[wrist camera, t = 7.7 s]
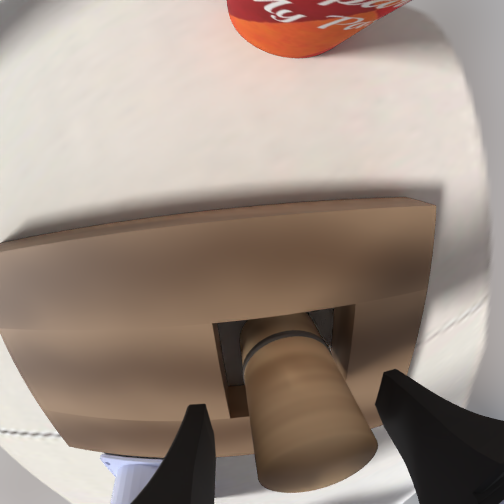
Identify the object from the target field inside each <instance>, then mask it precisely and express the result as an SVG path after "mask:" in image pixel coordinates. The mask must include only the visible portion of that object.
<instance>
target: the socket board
mask: <svg viewBox="0 0 504 504" xmlns="http://www.w3.org/2000/svg"><path fill="white" fill-rule="evenodd" d="M435 221H436V205H433V204H429V203H426V202H422V201H419V200H415V199H411V198H408V197H390V198H364V199H344V200H326V201H311V202H297V203H283V204H271V205H259V206H248V207H238V208H228V209H218V210H209V211H200V212H191V213H182V214H174V215H166V216H158V217H151V218H143V219H136V220H129V221H122V222H115V223H109V224H102V225H96V226H89V227H83V228H77V229H71V230H66V231H60V232H54V233H49V234H43V235H38V236H33V237H28V238H23V239H18V240H13V241H8V242H3V243H0V334H1V336H2V338H3V341H4V343H5V345H6V347H7V349H8V351H9V353H10V355H11V357H12V359H13V361H14V363H15V365H16V367H17V369H18V371H19V372H20V374H21V376H22V378H23V380H24V381H25V383H26V385H27V386H28V388H29V390H30V391H31V393H32V395H33V396H34V398H35V399H36V401H37V403H38V404H39V406H40V407H41V409H42V410H43V412H44V413H45V415H46V416H47V417H48V419H49V420H50V422H51V423H52V425H53V426H54V427H55V429H56V430H57V431H58V433H59V434H60V435H61V437H62V438H63V439H64V440H65V442H66V443H67V444H68V446H70V447H75V448H80V449H85V450H91V451H97V452H104V453H112V454H120V455H130V456H142V457H159V458H164V457H165V456H166V454H167V452H168V450H169V448H170V447H171V445H172V442H173V440H174V438H175V436H176V434H177V432H178V430H179V428H180V425H181V423H182V421H183V418H184V415H185V413H186V410H187V407H188V406H189V405H190V404H206V407H207V411H208V414H209V418H210V421H211V425H212V428H213V431H214V437H215V451H216V457H227V456H239V455H249V454H255V453H254V447H253V440H252V432H251V425H250V418H249V411H248V403H247V395H246V388H245V385H240V386H230V387H228V383H227V378H226V372H225V367H224V361H223V355H222V349H221V343H220V337H219V331H218V325H217V323H221V322H230V321H240V320H249V319H257V318H265V317H273V316H281V315H288V314H295V313H302V312H309V311H315V310H322V309H328V308H334V319H333V333H332V346H331V354H332V357H333V359H334V361H335V363H336V365H337V367H338V368H339V370H340V372H341V374H342V376H343V378H344V380H345V381H346V383H347V385H348V387H349V389H350V391H351V393H352V395H353V396H354V398H355V400H356V402H357V404H358V406H359V408H360V410H361V411H362V413H363V415H364V417H365V419H366V421H367V423H368V425H369V427H370V429H372V428H375V427H378V426H381V425H383V423H382V421H381V419H380V416H379V414H378V411H377V409H376V406H375V402H376V399H377V395H378V391H379V388H380V384H381V380H382V376H383V372H386V371H389V370H393V369H397V370H399V371H400V372H402V373H404V374H405V375H407V373H408V369H409V366H410V362H411V359H412V355H413V352H414V348H415V344H416V340H417V336H418V332H419V328H420V324H421V319H422V314H423V310H424V305H425V299H426V294H427V288H428V282H429V276H430V269H431V261H432V253H433V244H434V234H435Z"/></svg>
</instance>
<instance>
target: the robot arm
mask: <svg viewBox="0 0 504 504" xmlns="http://www.w3.org/2000/svg"><path fill="white" fill-rule="evenodd" d="M375 406H376V409H377V411H378V414H379V416H380V419H381V421H382V423H383V425H384V427H385V429H386V430H387V432H388V434H389V436H390V437H391V439H392V441H393V443H394V444H395V446H396V448H397V449H398V451H399V453H400V455H401V456H402V458H403V460H404V462H405V464H406V466H407V468H408V471H409V473H410V476H411V478H412V481H413V484H414V487H415V490H416V493H417V496H418V499H419V503H420V504H504V421H501V420H497V419H493V418H489V417H485V416H482V415H479V414H476V413H473V412H470V411H468V410H466V409H464V408H461V407H459V406H457V405H455V404H453V403H451V402H449V401H447V400H445V399H443V398H442V397H440V396H438V395H436V394H435V393H433V392H431V391H430V390H428V389H427V388H425V387H423V386H422V385H420V384H419V383H417V382H416V381H414V380H413V379H411V378H410V377H408V376H407V375H405V374H404V373H402V372H400V371H399V370H397V369H393V370H389V371H386V372H383V376H382V380H381V384H380V388H379V391H378V395H377V399H376V402H375ZM100 459H101V461H102V462H103V463H104V464H105V466H106V467H107V468H108V469H109V470H110V471H111V472H112V474H113V475H114V476H115V477H116V478H115V483H114V488H113V493H112V498H111V503H110V504H214V489H215V465H216V451H215V437H214V431H213V428H212V425H211V421H210V418H209V414H208V411H207V407H206V404H190V405H189V406H188V407H187V410H186V413H185V415H184V418H183V421H182V423H181V425H180V428H179V430H178V432H177V434H176V436H175V438H174V440H173V442H172V445H171V447H170V448H169V450H168V452H167V454H166V456H165V457H164V459H163V460H160V459H143V458H131V457H121V456H113V455H105V454H102V455H101V456H100Z"/></svg>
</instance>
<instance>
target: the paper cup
mask: <svg viewBox="0 0 504 504" xmlns="http://www.w3.org/2000/svg"><path fill="white" fill-rule="evenodd" d="M410 1H412V0H227V6H228V12H229V16H230V19H231V21H232V24H233V25H234V27H235V29H236V30H237V31H238V33H239V34H240V35H241V36H242V37H243V38H244V39H245V40H247V41H248V42H249V43H251V44H252V45H254V46H255V47H257V48H259V49H261V50H263V51H265V52H268V53H270V54H273V55H277V56H281V57H288V58H307V57H312V56H316V55H319V54H322V53H324V52H326V51H328V50H330V49H332V48H333V47H335V46H337V45H338V44H340V43H341V42H343V41H345V40H346V39H348V38H349V37H351V36H352V35H354V34H356V33H357V32H359V31H360V30H362V29H364V28H365V27H367V26H368V25H370V24H372V23H373V22H375V21H377V20H378V19H380V18H382V17H383V16H385V15H387V14H388V13H390V12H392V11H394V10H395V9H397V8H399V7H401V6H403V5H405V4H406V3H408V2H410Z"/></svg>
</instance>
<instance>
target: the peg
mask: <svg viewBox="0 0 504 504" xmlns="http://www.w3.org/2000/svg"><path fill="white" fill-rule="evenodd" d="M240 348H241V356H242V364H243V368H242V373H243V380H244V384H245V388H246V395H247V403H248V411H249V418H250V425H251V432H252V440H253V447H254V453H255V460H256V467H257V474H258V480H259V482H260V484H261V485H262V486H264V487H265V488H267V489H269V490H272V491H276V492H284V493H297V492H306V491H312V490H316V489H320V488H324V487H327V486H330V485H333V484H335V483H338V482H340V481H342V480H344V479H346V478H348V477H350V476H351V475H353V474H355V473H356V472H358V471H359V470H360V469H362V468H363V467H364V466H365V465H366V464H368V463H369V461H370V460H371V459H372V458H373V457H374V455H375V453H376V451H377V448H378V443H377V440H376V438H375V436H374V434H373V432H372V431H371V429H370V427H369V425H368V423H367V421H366V419H365V417H364V415H363V413H362V411H361V410H360V408H359V406H358V404H357V402H356V400H355V398H354V396H353V395H352V393H351V391H350V389H349V387H348V385H347V383H346V381H345V380H344V378H343V376H342V374H341V372H340V370H339V368H338V367H337V365H336V363H335V361H334V359H333V357H332V354H331V351H330V349H329V348H328V346H327V344H326V343H325V342H324V340H323V339H322V337H321V335H320V334H319V332H318V330H317V328H316V326H315V324H314V323H313V321H312V319H311V317H310V316H309V315H308V314H307V313H306V312H302V313H295V314H288V315H281V316H273V317H265V318H257V319H249V320H248V321H247V322H246V323H245V325H244V326H243V328H242V331H241V334H240Z"/></svg>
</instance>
